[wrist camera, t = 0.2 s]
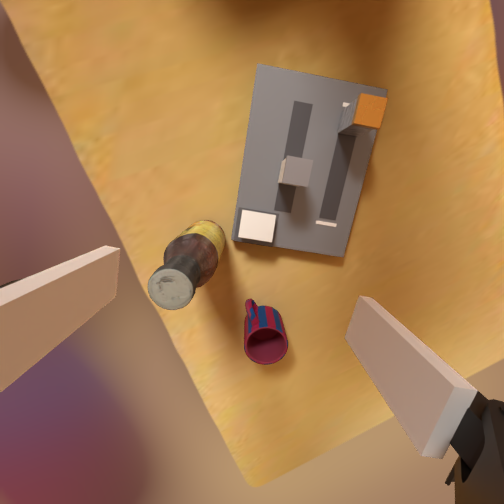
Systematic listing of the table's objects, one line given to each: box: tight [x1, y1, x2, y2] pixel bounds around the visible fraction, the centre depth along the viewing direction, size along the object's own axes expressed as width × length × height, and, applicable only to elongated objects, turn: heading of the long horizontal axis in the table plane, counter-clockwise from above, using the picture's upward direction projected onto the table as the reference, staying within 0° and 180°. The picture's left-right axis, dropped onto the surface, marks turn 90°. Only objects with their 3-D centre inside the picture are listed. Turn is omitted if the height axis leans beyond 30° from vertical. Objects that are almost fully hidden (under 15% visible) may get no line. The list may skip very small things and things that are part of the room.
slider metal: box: [338, 93, 388, 137], centre depth 32 cm, size 3×3×6 cm
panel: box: [231, 63, 387, 257], centre depth 37 cm, size 24×18×2 cm
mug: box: [244, 299, 288, 364], centre depth 41 cm, size 7×10×7 cm
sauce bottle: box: [148, 220, 225, 310], centre depth 31 cm, size 7×6×20 cm
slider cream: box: [278, 156, 313, 187], centre depth 34 cm, size 3×3×6 cm
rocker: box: [238, 210, 276, 242], centre depth 37 cm, size 4×5×2 cm
